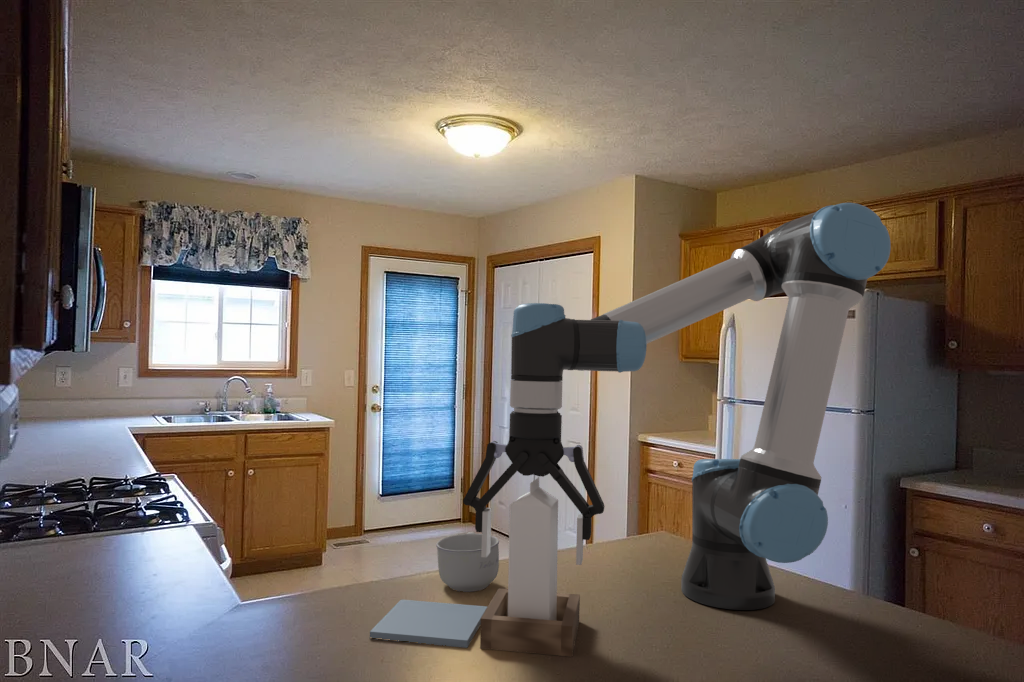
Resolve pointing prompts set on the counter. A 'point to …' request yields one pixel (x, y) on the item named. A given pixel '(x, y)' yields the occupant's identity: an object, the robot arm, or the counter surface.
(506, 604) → the frame
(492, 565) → the teacup
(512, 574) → the milk
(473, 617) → the board
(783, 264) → the robot arm
